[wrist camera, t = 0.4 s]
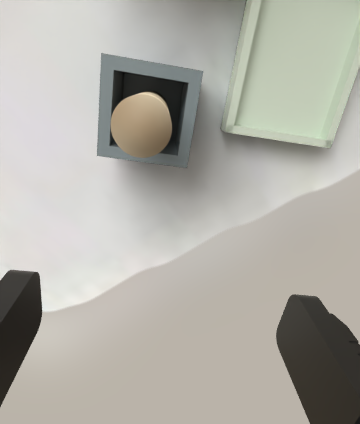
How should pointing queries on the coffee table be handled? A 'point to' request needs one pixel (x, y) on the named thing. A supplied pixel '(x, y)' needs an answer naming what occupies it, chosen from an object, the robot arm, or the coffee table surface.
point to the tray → (293, 70)
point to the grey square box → (140, 82)
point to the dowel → (142, 124)
